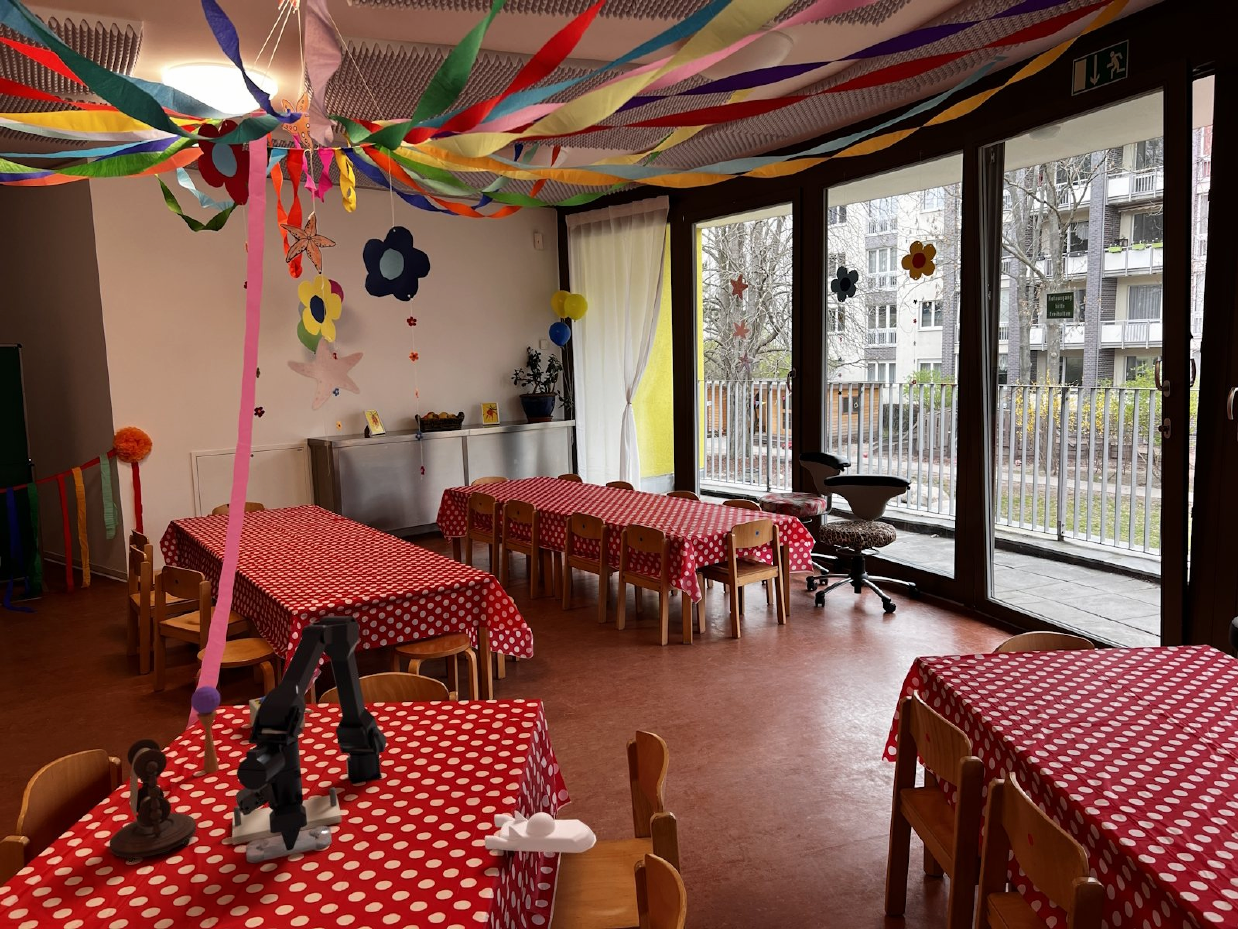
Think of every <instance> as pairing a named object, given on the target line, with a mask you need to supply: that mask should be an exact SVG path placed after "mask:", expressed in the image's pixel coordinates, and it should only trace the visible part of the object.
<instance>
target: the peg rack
mask: <svg viewBox="0 0 1238 929" xmlns="http://www.w3.org/2000/svg"><path fill="white" fill-rule="evenodd" d="M337 795H338V794H337V790H336V787H330V788H329V795H324V796H319V797H314V798H310V799H303V804H302V805H303V806H304V807H305V809H306V816H307V825H306V826H305V827H301V829H300V831H304V830H309V829H314V828H316V827H321V826H328V825H329V826H330V825H333V824H338V823H342V814H341V809H340V805H339V799H338V796H337ZM272 811H273V810H272V809H270V806H269V807H264V808H257V809H255V810H254V811H252V812H251V813H250V814H248V815H243V813H242V812H241V811H240V810H239V806H238V805H237V806H234V807H233V814H232V836H231V838H232V845H238V844H243V843H250V842H252V841H255V840H259V839H266V838H271V837H276V836H280V835H282V834H281V832H277V833H270V818H269V814H270V813H271V812H272Z"/></svg>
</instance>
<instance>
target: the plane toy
mask: <svg viewBox="0 0 1238 929" xmlns="http://www.w3.org/2000/svg"><path fill="white" fill-rule="evenodd" d="M493 817H494V820H493V821H494V824H495V825H494V826H495V827H496V828H501V829H500V830H499V833H498V836H497V835H485V837H484V846H485V849H486V850H494V849H496V850H500V851H518V852H541V853H543V852H545V853H546V852H547V853H548V852H549V853H570V854H571V853H572V854H573V853H574V854H575V853H577V854H579V853H584V852H585V851H588V850H589V849H591V848H594V846H595V844H596V842H597V838H596V837H597V836H596V834H595V833H594V832H593V831H592V829H591V828H590V827H589V826H588V825H587V824H586V823H584V822H582V821H581V820H579V819H554V818H553V817H552V815H550V814H549V813H546V812H543V811H541V812H537V813H534V814H533V815H532V816H530V818H529V819H527V818H526V817H524V816H523V814H521V813H520V812H519V811H518V810H514V817H512V816H510V815H507V814H498V813H497V814H494V816H493Z"/></svg>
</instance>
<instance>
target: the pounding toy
mask: <svg viewBox="0 0 1238 929" xmlns="http://www.w3.org/2000/svg"><path fill="white" fill-rule="evenodd" d="M265 697H266V695H265V696H263V697H259V698H255V699H250V700H248V705H249V718H250V719H249V720H250V725H251V726H252V727H253V724H254V721H255V717H256V714H257V711H258V708H259V707H260V705H261V703H262V702H263V700H264V698H265ZM305 713H309V714H312V713H314V710H312V709H311V710H310V709H305V712H304V718H303V721H302V723H301V725H300V728H302V729H304V728H305V727H306V719H305V718H306V717H305ZM277 732H279V731H265V730H262V732H261V733H274V734H276V733H277Z"/></svg>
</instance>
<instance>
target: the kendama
mask: <svg viewBox="0 0 1238 929" xmlns="http://www.w3.org/2000/svg"><path fill="white" fill-rule="evenodd" d="M190 699H191V700H190V701H191V707H192V708H193V710H194V711H195V712H197V714H196V717H197V719H198V720H199V721H200V723H201V724H202V726H203V728H204V729H205V730H204V731H205V733H204V735H205V736H204V754H203V755H204V756H203V772H204V773H215V772H217V771H219V770H220V767H219V763H218V757H217V753H216V748H215V742H214V738H213V732H212V725H213V723H214V721H215V718H216V716H217V713H218V711H217V710H216V709H217V708H218V707H219V705H220V703H221V694H220V693H219V691H218V689H216V688H215V687H213V686H208V685H205V686H201V687H199V688H198V689H196V690H195V692H193V693H192V695H191V698H190Z"/></svg>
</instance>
